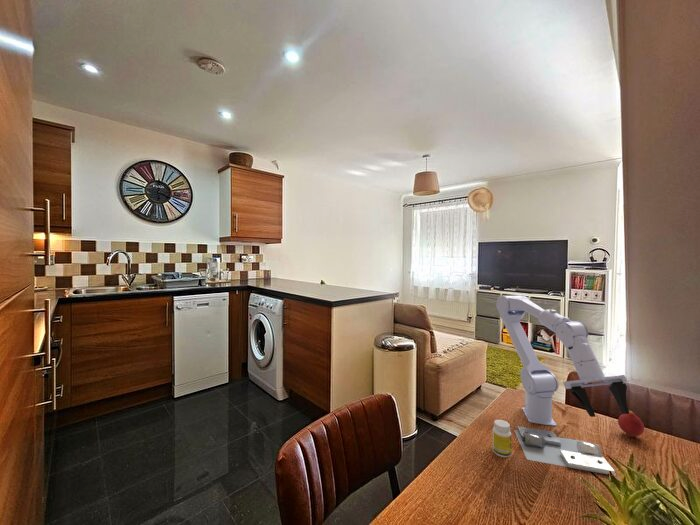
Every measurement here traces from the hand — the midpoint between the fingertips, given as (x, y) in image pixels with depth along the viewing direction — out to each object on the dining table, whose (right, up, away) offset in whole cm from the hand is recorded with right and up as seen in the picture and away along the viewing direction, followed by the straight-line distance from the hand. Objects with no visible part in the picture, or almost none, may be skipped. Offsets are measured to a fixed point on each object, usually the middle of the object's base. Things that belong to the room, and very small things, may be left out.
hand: (609, 415), depth 78 cm
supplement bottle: (-26, -14, +5) cm, 30 cm away
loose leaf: (-6, -13, +2) cm, 14 cm away
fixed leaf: (-12, -13, +10) cm, 20 cm away
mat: (-9, -13, +6) cm, 17 cm away
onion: (+18, -14, +13) cm, 26 cm away
